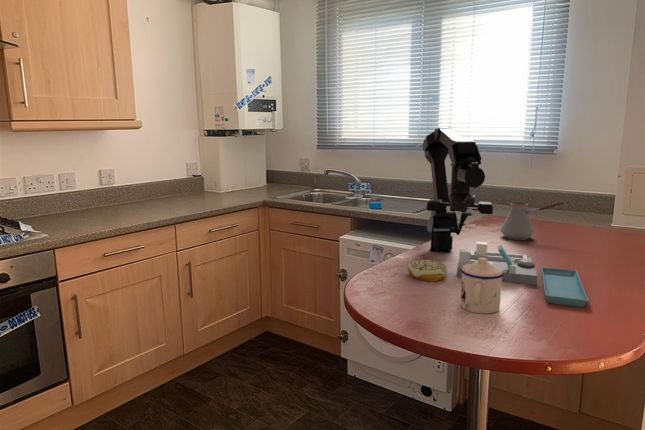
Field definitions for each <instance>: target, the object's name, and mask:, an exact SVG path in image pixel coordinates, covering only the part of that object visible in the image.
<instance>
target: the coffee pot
mask: <svg viewBox="0 0 645 430" xmlns="http://www.w3.org/2000/svg"><path fill="white" fill-rule="evenodd" d="M509 205H510V208H511V209H510V211H509V212H508V214H507V216H506V218H505V220H504V222H503V224H502V226H501V228H500V231H501V232H500V233H502V235H503V236H504V237H505V238H506V239H509V240H516V241H527V240H528V239H529V238H531V237H532V236H533V234H534V227H533V225H532V222H531V219H530V217H529V214H532V213H535V212H538V211H543V210H548V209H552V208H555V207H558V206H560V205H564V207H565V208H567V203H566V202H565V201H560V202H556V203H551V204H548V205H545V206H544V205H543V206H541V207H539V208H538V207H537V208H535V209H532V210H531V209H530V210H527V207H528V206H529V203H525V202H509Z"/></svg>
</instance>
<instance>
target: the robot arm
mask: <svg viewBox="0 0 645 430" xmlns="http://www.w3.org/2000/svg"><path fill="white" fill-rule="evenodd" d="M479 150H480V149H479V147H478V144H477V143H476V141H475V140H473V139H469V138H462V137H461V136H460V135H459V134H457V133H456V132H455V131H453V129H452V128H450V127H446V126H445V127H442V126H441V127H439V126H438V127H437V128H434V131H433V132H430V133H429V134H428V135H426V137H425V138H424V140H423V141H422V151H423V153H424V157H425V159H426V160H427V162H428V163H429V165H430V170H431V180H432V186H433V187H432V188H433V190H432V191H433V197H434V198H429V199H428V201H427V202H426V211H429V212H430V217H429V219H428V221H427V224H426V230H427V232H428V233H430V248H429V251H431V252H439V253H440V252H441V253H442V252H443V253H450V252H451V250H453V242H454V241H453V239H454V236H453V235H452V234H456V235H458V236H460V233H461V232H462V229H463V226H464V224H465V222H466V220H467V218H468V217H469V216H473V211H478V212H479V213H480V214H481V215H493V213H494V212H493V211H494V203H493V202H491V201H478V203H476V195H475V194H471V191H472V190H471V188H472V189H473V188H475V189H476V188H478V187H480V186H482V185H483V184H484V182H485V179H486V174H485V171H484V170H483V169H482V168H480V165H481V164H482V156H481V154H480V151H479ZM447 156H449V158H450V159H449V160H450V161H451V163H450V166H451V172H450V173H451V174H450V175H451V176H450V177H451V178H450V192H449V188H448V179H447V171H446V170H447V169H446V158H447ZM458 212H461V215H460V220H459V216H458Z"/></svg>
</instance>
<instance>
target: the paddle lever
mask: <svg viewBox="0 0 645 430" xmlns="http://www.w3.org/2000/svg"><path fill="white" fill-rule="evenodd" d="M497 251H498V253H500V254H501V256H502V257H503V259H504V260H505V262H506V263H507V265H508V266H509V265H514V262H513V261H512V260H511V259H510V257H509V256H508V254H509V253H508V252H507V251H506V250H505V248H504V247H503V245H502V244H500V245H498V246H497ZM507 253H508V254H507ZM514 266H515V265H514Z"/></svg>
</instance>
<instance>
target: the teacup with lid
mask: <svg viewBox="0 0 645 430" xmlns="http://www.w3.org/2000/svg"><path fill="white" fill-rule="evenodd" d="M461 272H462V278H461V286H460V288H461V289H460V306H461V307H462V309H464V310H466V311H469V312H471V313H475V314H484V315H485V314H487V315H488V314H494V313H497V312H498V311H499V310H500V309H501V308H500V307H501V294H502V293H501V292H502V276H503V271H502V270H501V269H500V268H499V267H496V266H494V265H492V264H491V263H489V262H487V258H483V257H481V258H479V259H478V261H476V262H473V263H472V264H466V265H464V266H463V267H462V269H461Z"/></svg>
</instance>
